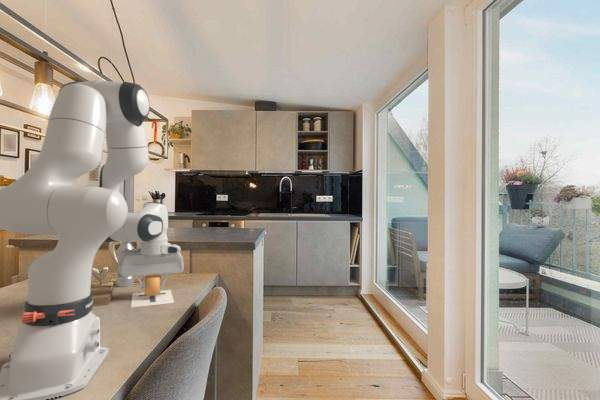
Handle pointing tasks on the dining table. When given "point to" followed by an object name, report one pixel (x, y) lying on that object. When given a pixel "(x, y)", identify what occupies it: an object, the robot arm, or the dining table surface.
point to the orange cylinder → (152, 285)
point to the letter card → (151, 299)
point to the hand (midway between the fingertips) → (152, 287)
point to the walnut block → (101, 297)
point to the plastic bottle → (120, 279)
